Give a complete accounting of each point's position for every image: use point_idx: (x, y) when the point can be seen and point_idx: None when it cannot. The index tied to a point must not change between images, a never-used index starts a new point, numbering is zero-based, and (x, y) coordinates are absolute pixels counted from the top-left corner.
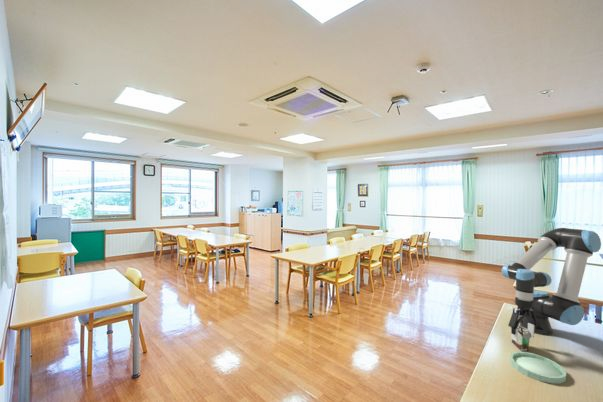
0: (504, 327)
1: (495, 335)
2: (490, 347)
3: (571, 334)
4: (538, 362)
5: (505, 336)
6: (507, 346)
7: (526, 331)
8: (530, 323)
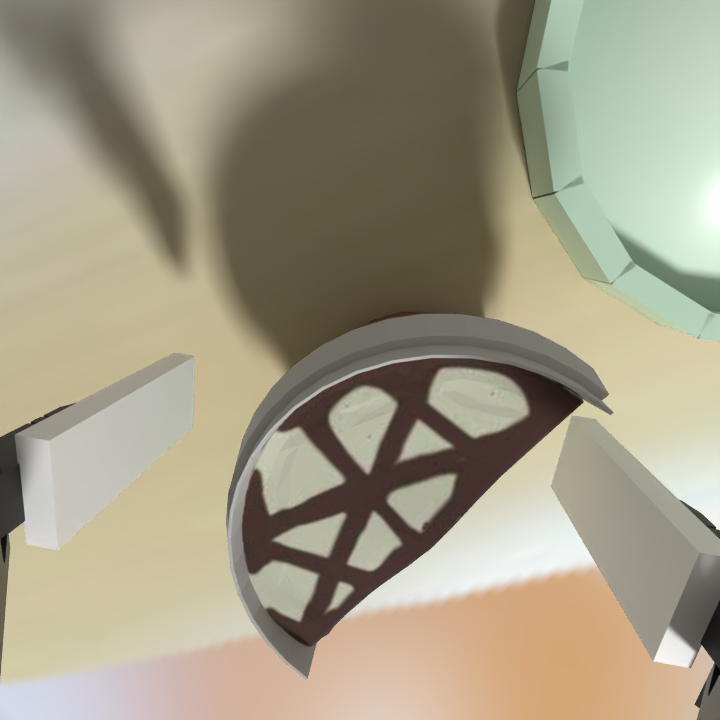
0: (89, 628)
1: None
2: None
3: None
4: (671, 97)
5: None
6: None
7: (315, 437)
8: (22, 512)
